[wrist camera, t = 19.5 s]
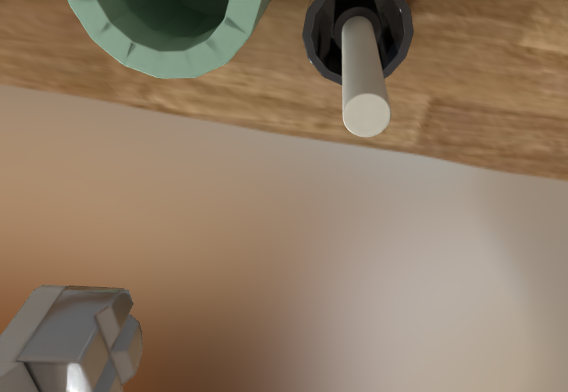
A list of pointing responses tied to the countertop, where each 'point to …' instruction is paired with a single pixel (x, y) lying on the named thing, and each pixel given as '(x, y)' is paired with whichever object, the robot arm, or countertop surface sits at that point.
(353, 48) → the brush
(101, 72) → the countertop surface
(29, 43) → the countertop surface
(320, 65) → the holder
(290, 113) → the countertop surface
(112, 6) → the jar
